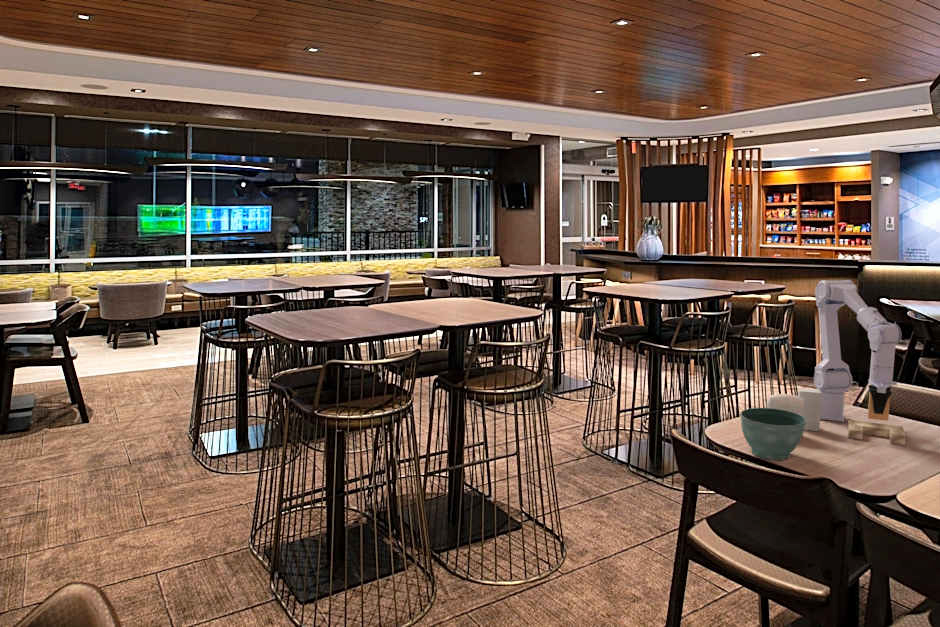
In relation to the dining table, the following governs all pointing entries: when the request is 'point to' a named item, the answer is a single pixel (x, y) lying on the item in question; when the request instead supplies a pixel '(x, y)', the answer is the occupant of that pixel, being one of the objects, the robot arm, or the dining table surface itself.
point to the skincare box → (811, 408)
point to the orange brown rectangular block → (874, 415)
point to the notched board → (876, 431)
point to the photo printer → (786, 403)
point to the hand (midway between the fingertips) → (878, 411)
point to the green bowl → (772, 431)
